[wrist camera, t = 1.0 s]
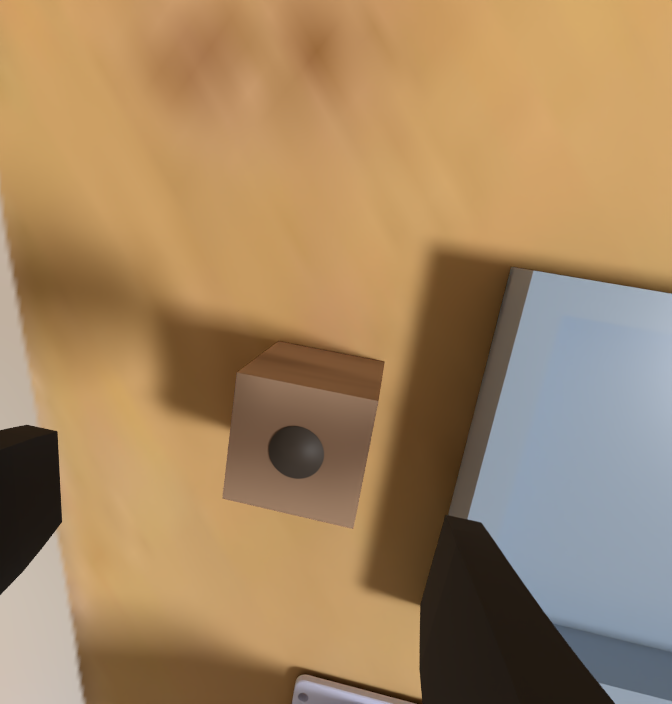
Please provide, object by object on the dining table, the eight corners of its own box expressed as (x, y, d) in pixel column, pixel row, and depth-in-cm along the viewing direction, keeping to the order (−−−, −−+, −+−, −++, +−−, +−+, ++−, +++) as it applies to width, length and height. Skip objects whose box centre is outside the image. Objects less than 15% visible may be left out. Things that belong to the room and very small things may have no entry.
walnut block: (365, 460, 20) (353, 529, 15) (265, 438, 20) (221, 499, 15) (384, 361, 19) (378, 401, 14) (278, 341, 19) (236, 373, 14)
